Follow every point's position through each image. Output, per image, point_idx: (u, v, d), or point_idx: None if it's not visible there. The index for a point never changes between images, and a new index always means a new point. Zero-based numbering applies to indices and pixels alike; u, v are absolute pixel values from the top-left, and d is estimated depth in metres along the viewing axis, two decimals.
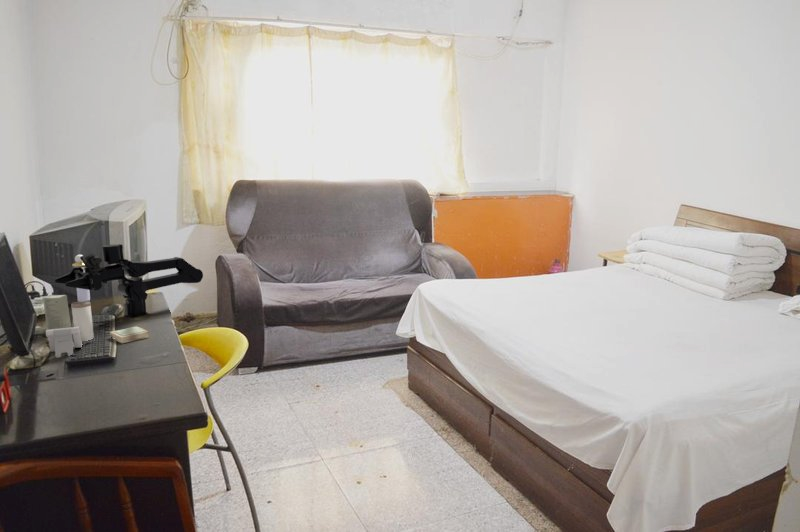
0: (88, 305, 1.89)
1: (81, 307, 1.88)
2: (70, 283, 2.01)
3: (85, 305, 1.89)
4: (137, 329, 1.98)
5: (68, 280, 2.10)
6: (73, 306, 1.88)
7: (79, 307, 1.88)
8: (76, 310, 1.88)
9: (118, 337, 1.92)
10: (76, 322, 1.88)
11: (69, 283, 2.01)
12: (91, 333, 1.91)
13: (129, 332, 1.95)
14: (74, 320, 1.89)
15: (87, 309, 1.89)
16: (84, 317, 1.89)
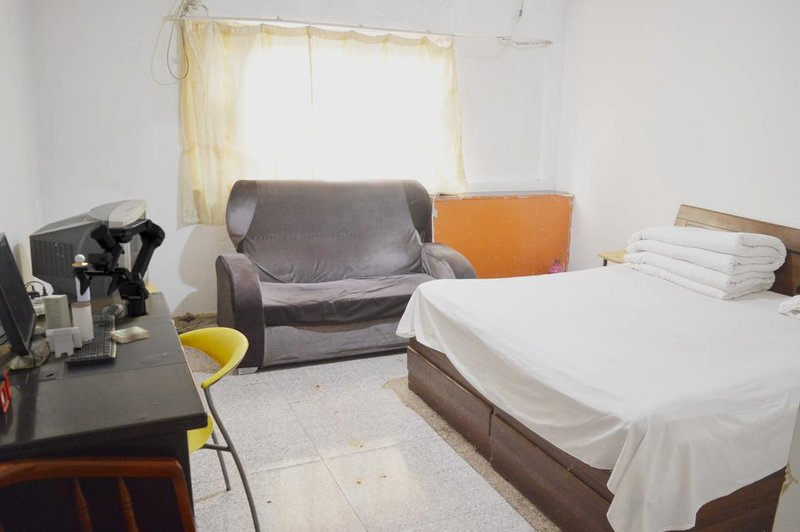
0: (88, 305, 1.89)
1: (81, 307, 1.88)
2: (110, 291, 1.98)
3: (85, 305, 1.89)
4: (137, 329, 1.98)
5: (86, 285, 2.01)
6: (73, 306, 1.88)
7: (79, 307, 1.88)
8: (76, 310, 1.88)
9: (118, 337, 1.92)
10: (76, 322, 1.88)
11: (109, 292, 1.98)
12: (91, 333, 1.91)
13: (129, 332, 1.95)
14: (74, 320, 1.89)
15: (87, 309, 1.89)
16: (84, 317, 1.89)
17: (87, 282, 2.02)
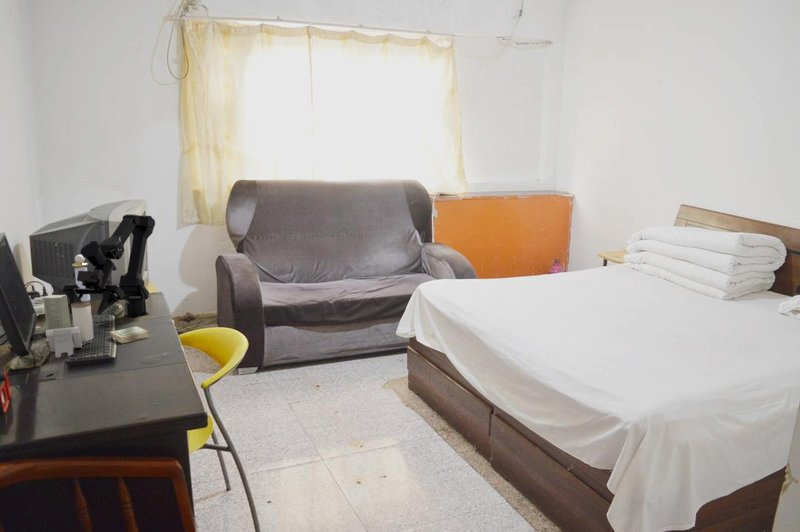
0: (88, 305, 1.89)
1: (81, 307, 1.88)
2: (101, 310, 1.92)
3: (85, 305, 1.89)
4: (137, 329, 1.98)
5: None
6: (73, 306, 1.88)
7: (79, 306, 1.88)
8: (76, 310, 1.88)
9: (118, 337, 1.92)
10: (76, 322, 1.88)
11: (100, 310, 1.92)
12: (91, 333, 1.91)
13: (129, 332, 1.95)
14: (74, 320, 1.89)
15: (87, 309, 1.89)
16: (83, 317, 1.89)
17: (77, 300, 1.96)
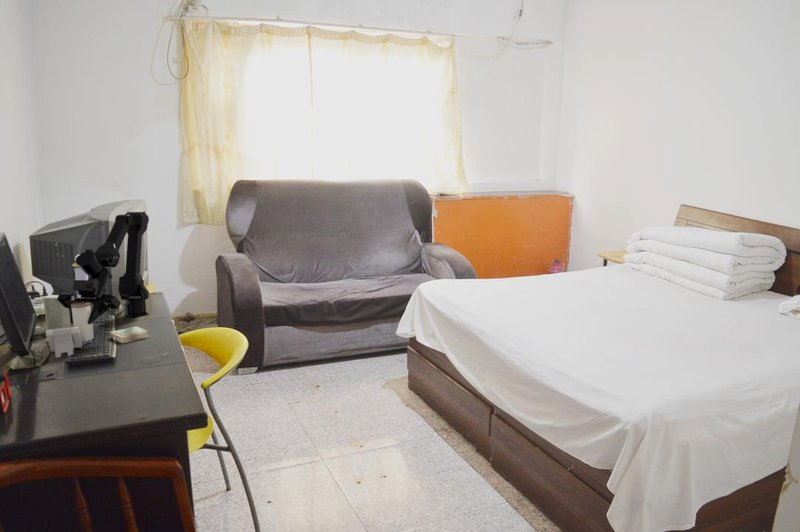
0: (87, 305, 1.89)
1: (81, 307, 1.88)
2: (91, 319, 1.90)
3: (85, 305, 1.88)
4: (137, 329, 1.98)
5: None
6: (73, 306, 1.88)
7: (79, 307, 1.87)
8: (76, 310, 1.88)
9: (118, 337, 1.92)
10: (76, 322, 1.88)
11: (91, 320, 1.90)
12: (91, 333, 1.91)
13: (129, 332, 1.95)
14: (74, 320, 1.89)
15: (87, 309, 1.89)
16: (83, 317, 1.89)
17: None
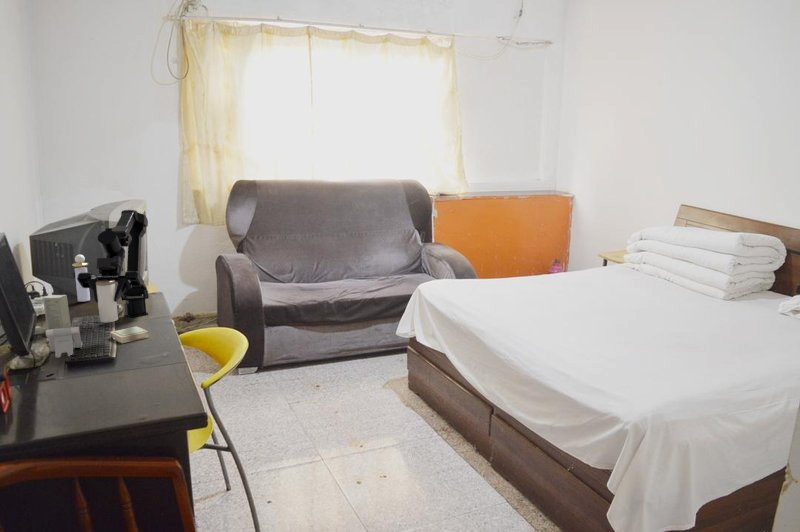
0: (113, 282, 1.91)
1: (108, 285, 1.89)
2: (117, 297, 1.92)
3: (111, 283, 1.90)
4: (137, 329, 1.98)
5: None
6: (99, 284, 1.88)
7: (106, 284, 1.89)
8: (102, 288, 1.88)
9: (118, 337, 1.92)
10: (103, 300, 1.89)
11: (117, 297, 1.92)
12: (116, 311, 1.93)
13: (129, 332, 1.95)
14: (100, 298, 1.89)
15: (113, 287, 1.91)
16: (110, 294, 1.90)
17: None
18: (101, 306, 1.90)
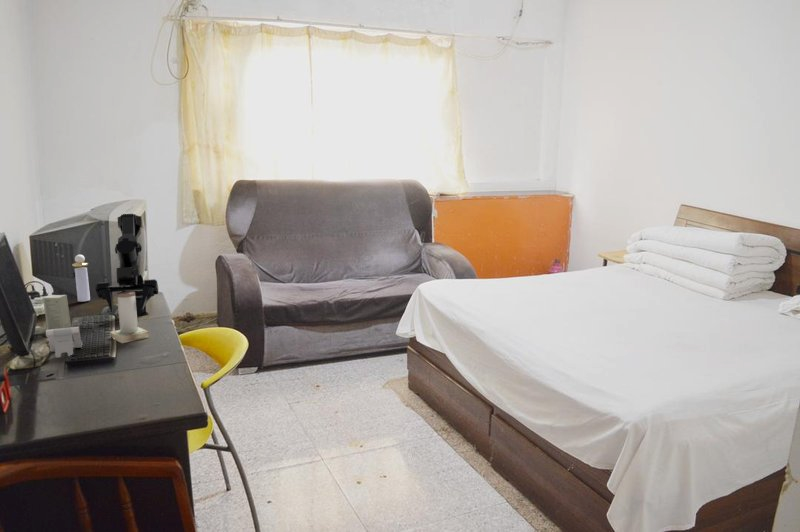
0: (134, 294, 1.95)
1: (130, 296, 1.93)
2: (144, 304, 1.96)
3: (133, 294, 1.94)
4: None
5: (111, 301, 1.95)
6: (121, 296, 1.92)
7: (128, 296, 1.92)
8: (125, 299, 1.92)
9: (118, 337, 1.92)
10: (125, 311, 1.93)
11: (143, 305, 1.96)
12: None
13: None
14: (122, 310, 1.93)
15: (134, 298, 1.94)
16: (132, 306, 1.94)
17: (111, 298, 1.96)
18: (123, 317, 1.93)
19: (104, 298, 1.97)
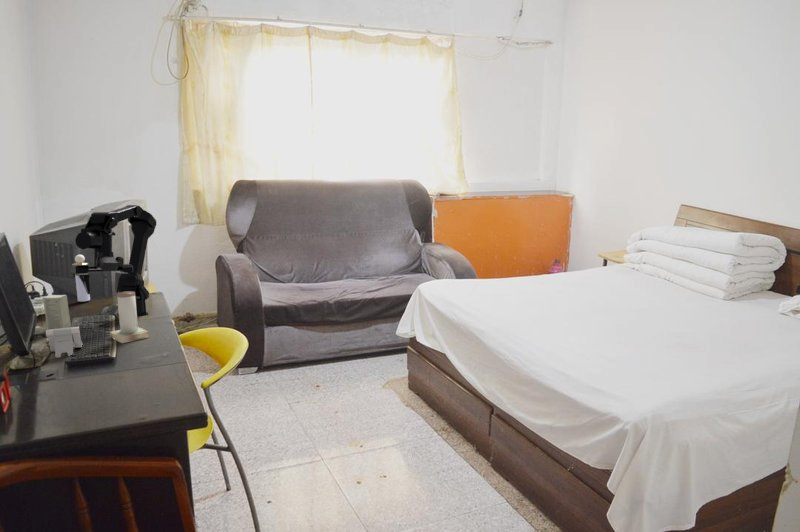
0: (134, 294, 1.95)
1: (130, 296, 1.93)
2: None
3: (133, 294, 1.94)
4: None
5: None
6: (121, 296, 1.92)
7: (128, 296, 1.92)
8: (125, 299, 1.92)
9: (118, 337, 1.92)
10: (125, 311, 1.93)
11: None
12: None
13: None
14: (122, 310, 1.93)
15: (134, 298, 1.95)
16: (132, 306, 1.94)
17: None
18: (123, 317, 1.93)
19: None
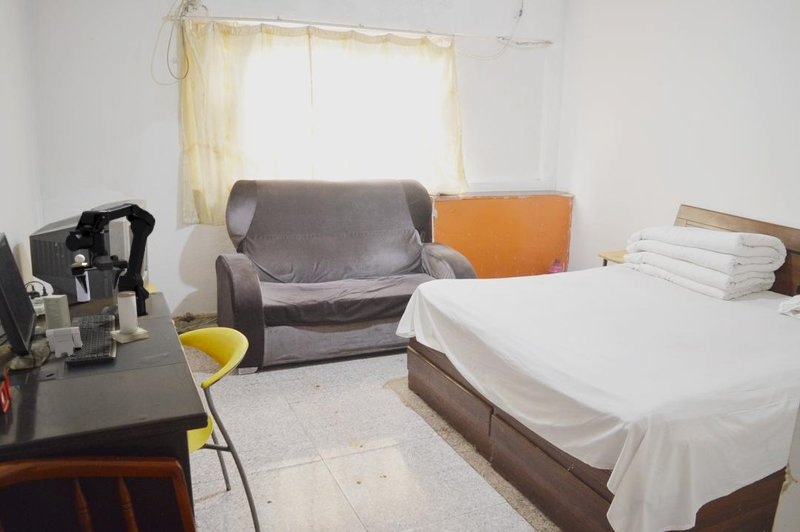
0: (134, 294, 1.95)
1: (130, 296, 1.93)
2: None
3: (133, 294, 1.94)
4: None
5: None
6: (122, 296, 1.92)
7: (128, 296, 1.92)
8: (125, 299, 1.92)
9: (118, 337, 1.92)
10: (125, 311, 1.93)
11: None
12: None
13: None
14: (122, 310, 1.93)
15: (134, 298, 1.95)
16: (132, 306, 1.94)
17: None
18: (123, 317, 1.93)
19: None
